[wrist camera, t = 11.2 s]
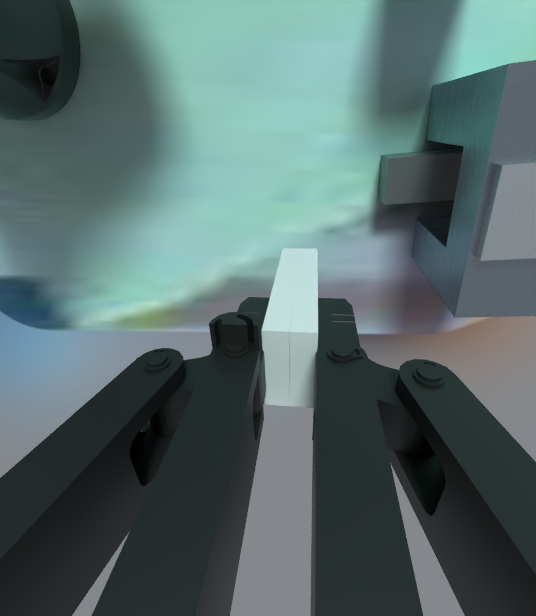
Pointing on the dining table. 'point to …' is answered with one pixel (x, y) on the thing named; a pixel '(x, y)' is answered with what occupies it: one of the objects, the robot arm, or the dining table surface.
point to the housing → (485, 195)
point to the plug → (419, 176)
